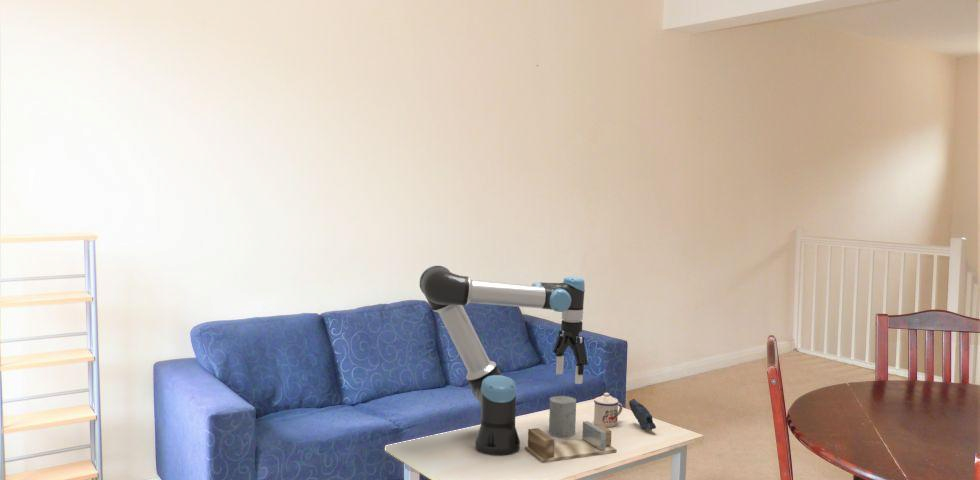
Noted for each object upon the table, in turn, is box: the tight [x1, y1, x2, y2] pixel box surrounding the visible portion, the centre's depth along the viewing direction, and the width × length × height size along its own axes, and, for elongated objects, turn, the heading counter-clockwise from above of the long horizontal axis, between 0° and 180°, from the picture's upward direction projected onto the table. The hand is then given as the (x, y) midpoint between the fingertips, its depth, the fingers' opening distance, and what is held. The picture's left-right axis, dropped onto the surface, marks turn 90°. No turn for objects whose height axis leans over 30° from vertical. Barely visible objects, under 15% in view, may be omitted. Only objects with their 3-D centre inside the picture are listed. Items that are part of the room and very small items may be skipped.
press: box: [524, 427, 617, 463], centre depth 260 cm, size 28×13×7 cm, turn 113°
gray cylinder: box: [548, 395, 577, 439], centre depth 278 cm, size 10×10×12 cm
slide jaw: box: [581, 420, 612, 450], centre depth 265 cm, size 6×12×6 cm, turn 23°
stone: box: [628, 398, 657, 431], centre depth 285 cm, size 14×6×10 cm, turn 39°
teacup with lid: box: [593, 392, 623, 428], centre depth 290 cm, size 12×9×12 cm
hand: (568, 378), depth 279 cm, fingers open, 13 cm apart
